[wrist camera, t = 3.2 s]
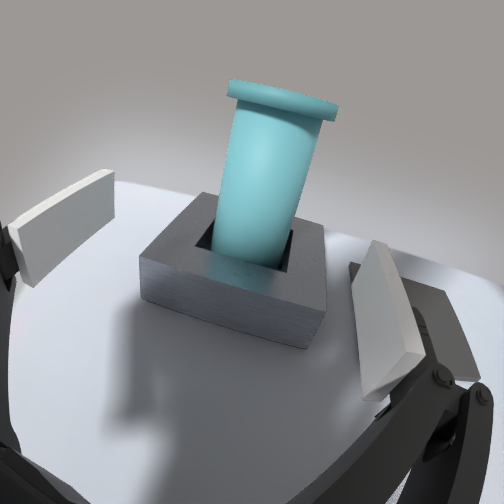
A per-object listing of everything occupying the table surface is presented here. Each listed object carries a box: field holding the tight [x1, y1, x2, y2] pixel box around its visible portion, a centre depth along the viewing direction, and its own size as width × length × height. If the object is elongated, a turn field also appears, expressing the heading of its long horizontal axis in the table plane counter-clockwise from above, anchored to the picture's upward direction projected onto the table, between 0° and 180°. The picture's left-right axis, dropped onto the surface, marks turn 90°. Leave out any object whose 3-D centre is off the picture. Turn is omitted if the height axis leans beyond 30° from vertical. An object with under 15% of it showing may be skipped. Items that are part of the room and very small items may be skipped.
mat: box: [349, 262, 481, 382], centre depth 25 cm, size 14×14×1 cm
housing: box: [139, 192, 326, 349], centre depth 25 cm, size 13×13×4 cm
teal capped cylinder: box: [210, 79, 339, 270], centre depth 22 cm, size 8×8×16 cm
